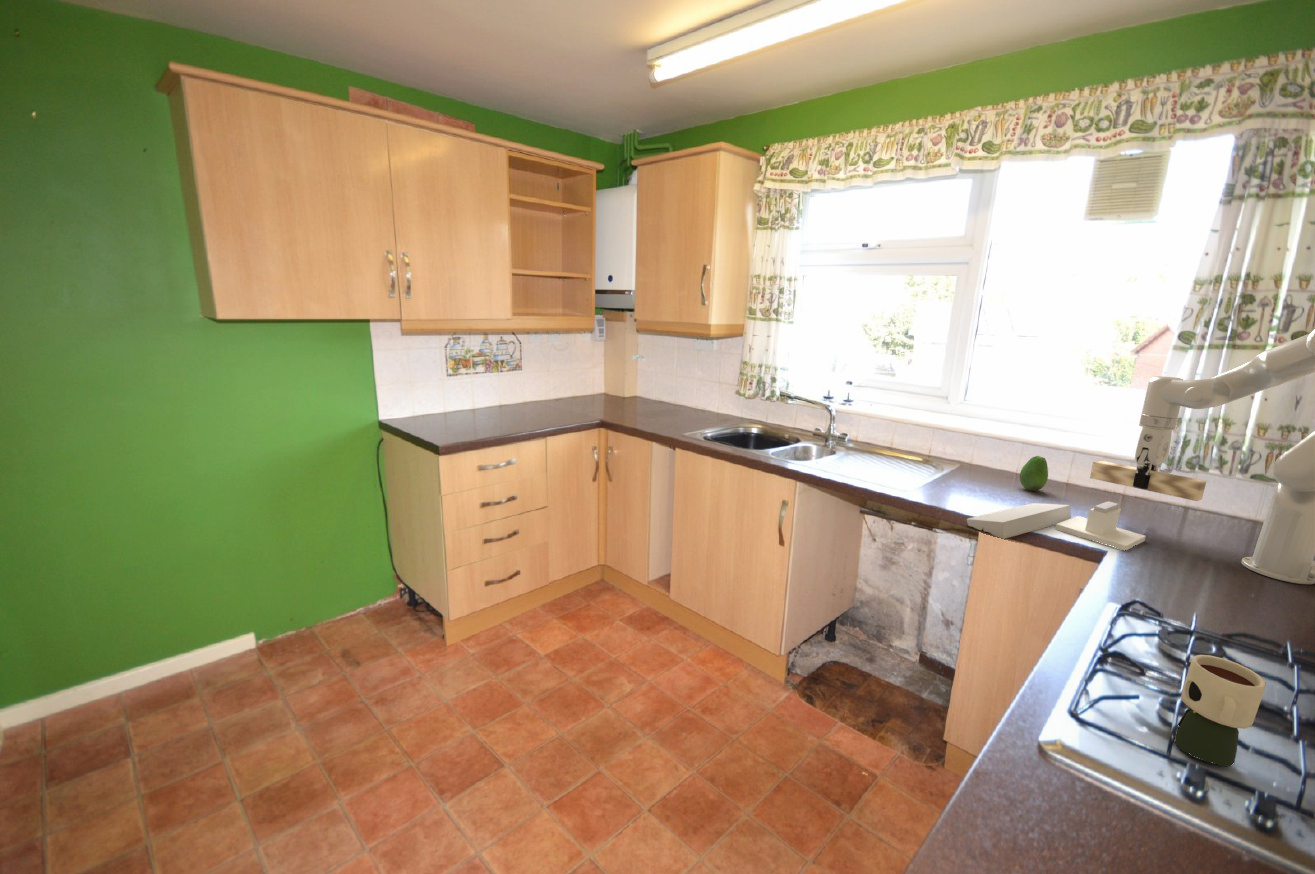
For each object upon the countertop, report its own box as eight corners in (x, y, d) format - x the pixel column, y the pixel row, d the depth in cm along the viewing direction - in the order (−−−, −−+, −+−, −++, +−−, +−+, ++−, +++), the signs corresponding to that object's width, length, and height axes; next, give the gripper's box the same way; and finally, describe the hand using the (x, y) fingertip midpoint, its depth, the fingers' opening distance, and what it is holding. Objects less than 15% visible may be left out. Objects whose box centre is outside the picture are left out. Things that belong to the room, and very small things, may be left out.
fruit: (1011, 486, 197) (1018, 453, 194) (1028, 485, 200) (1036, 452, 197) (1032, 494, 190) (1040, 459, 187) (1050, 493, 192) (1058, 458, 189)
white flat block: (967, 536, 159) (1004, 540, 150) (966, 518, 159) (1002, 522, 150) (1034, 518, 176) (1071, 521, 167) (1033, 503, 176) (1070, 505, 167)
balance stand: (1144, 541, 155) (1152, 510, 152) (1124, 551, 147) (1133, 519, 145) (1076, 520, 167) (1083, 492, 165) (1055, 528, 160) (1062, 499, 158)
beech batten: (1202, 499, 152) (1206, 480, 151) (1197, 501, 149) (1201, 482, 148) (1095, 476, 171) (1098, 460, 170) (1089, 478, 169) (1093, 461, 168)
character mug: (1163, 719, 85) (1187, 641, 82) (1229, 742, 81) (1257, 662, 78) (1170, 763, 76) (1198, 678, 73) (1245, 792, 72) (1277, 704, 69)
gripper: (1164, 427, 149) (1149, 494, 153) (1185, 422, 158) (1170, 486, 162) (1129, 422, 155) (1115, 487, 159) (1151, 417, 164) (1137, 479, 168)
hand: (1143, 486), depth 160 cm, fingers closed on beech batten, 4 cm apart
